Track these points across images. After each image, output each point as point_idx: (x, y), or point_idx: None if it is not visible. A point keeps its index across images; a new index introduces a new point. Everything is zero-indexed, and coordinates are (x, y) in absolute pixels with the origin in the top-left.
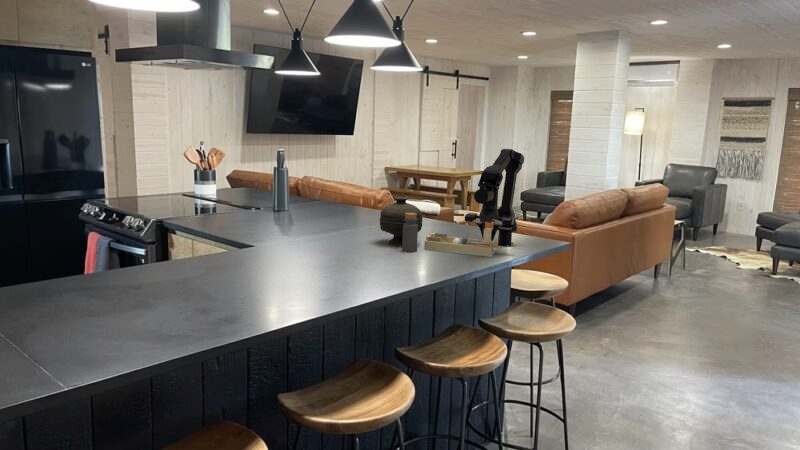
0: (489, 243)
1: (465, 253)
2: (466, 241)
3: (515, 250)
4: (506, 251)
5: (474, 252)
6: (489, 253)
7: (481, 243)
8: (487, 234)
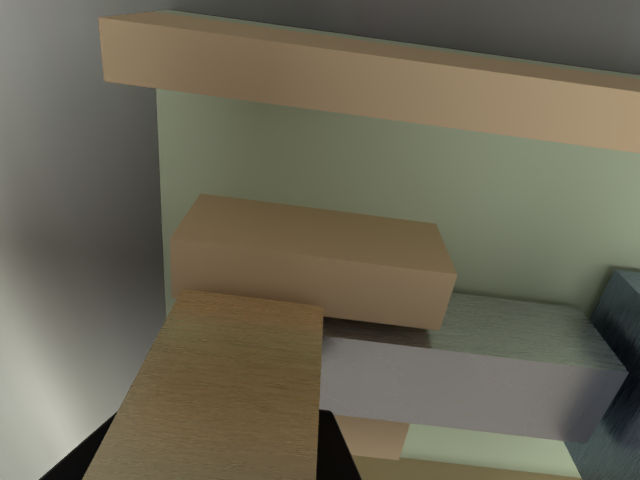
0: (196, 305)
1: (602, 70)
2: (603, 429)
3: (13, 460)
4: (77, 401)
5: (457, 54)
6: (176, 17)
7: (355, 344)
8: (201, 470)
